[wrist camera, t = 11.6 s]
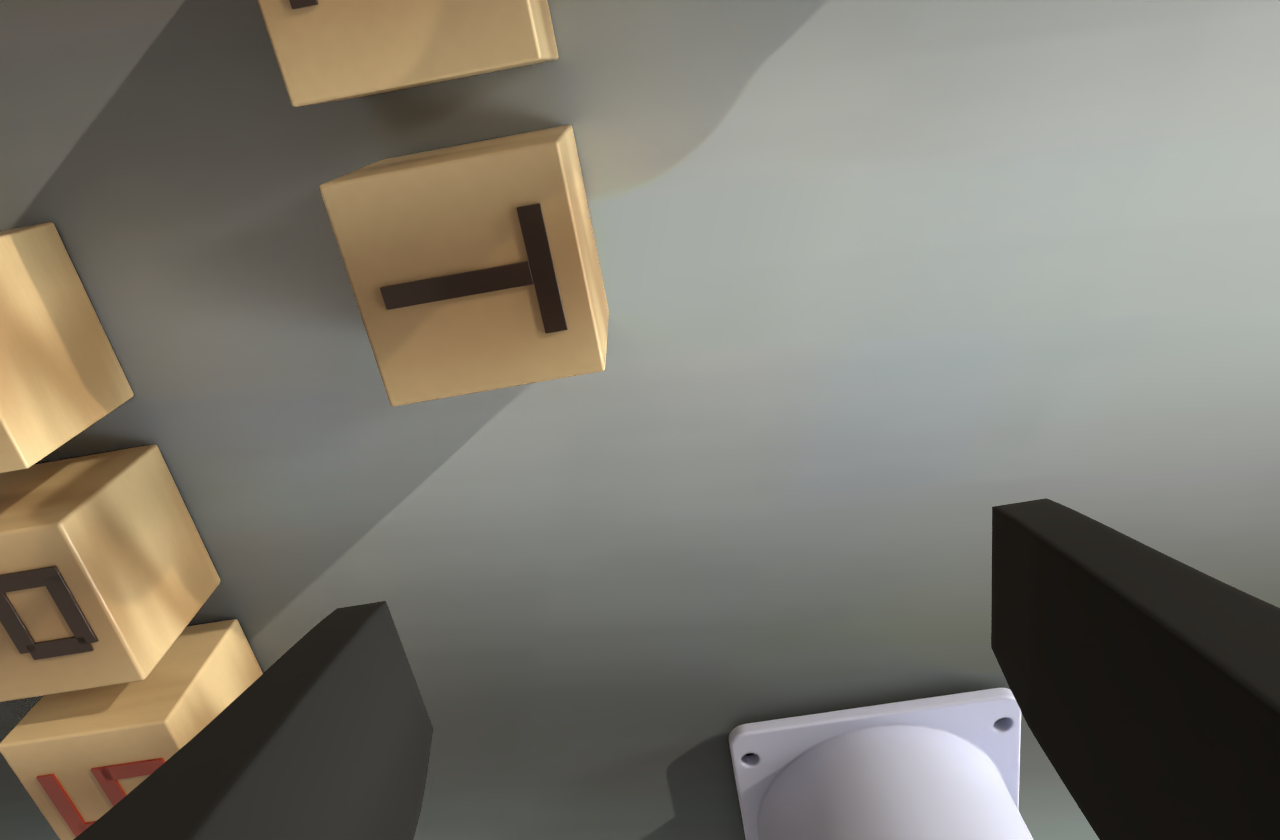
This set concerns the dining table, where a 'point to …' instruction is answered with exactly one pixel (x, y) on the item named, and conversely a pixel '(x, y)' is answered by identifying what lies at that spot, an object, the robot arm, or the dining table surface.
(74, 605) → the tile
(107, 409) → the tile
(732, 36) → the dining table surface
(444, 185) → the tile
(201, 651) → the tile
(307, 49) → the tile
